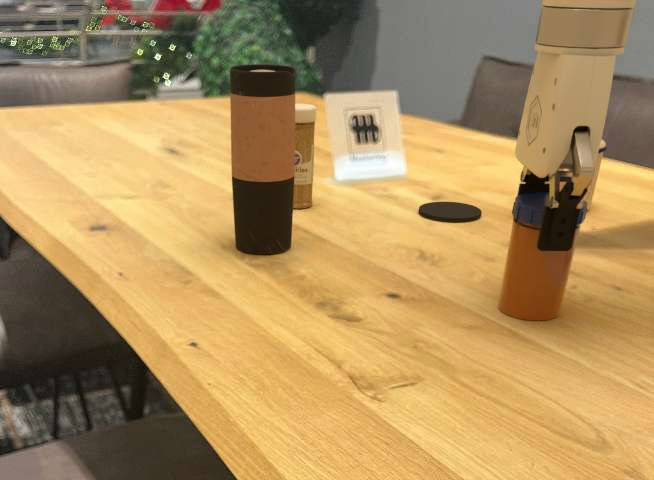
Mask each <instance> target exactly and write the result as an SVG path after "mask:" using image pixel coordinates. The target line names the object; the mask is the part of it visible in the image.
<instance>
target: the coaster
mask: <svg viewBox="0 0 654 480" xmlns="http://www.w3.org/2000/svg"><path fill="white" fill-rule="evenodd" d="M482 213H483V212H482V209H480V207H478V206H475V205H473V204H469V203H463V202H457V201H431V202H426V203H423V204H421V205H420V206H419V207H418V214H419V216H421V217H422V218H424V219H429V220H432V221H435V222H443V223H470V222H473V221H477V220H479V219H481V217H482Z"/></svg>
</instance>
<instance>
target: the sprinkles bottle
mask: <svg viewBox="0 0 654 480" xmlns="http://www.w3.org/2000/svg"><path fill="white" fill-rule="evenodd" d="M316 121H317V106H316V105H314V104H310V103H295V175H294V198H293V209H307V208H310V207H311V206H312V205H313V203H314V202H313V201H314V200H313V183H314V166H315V164H314V163H315V131H316V130H315V127H316Z"/></svg>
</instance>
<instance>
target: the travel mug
mask: <svg viewBox="0 0 654 480" xmlns="http://www.w3.org/2000/svg"><path fill="white" fill-rule="evenodd" d="M296 75H297V69H296V68H295V67H293V66H290V65H284V64H268V63H267V64H265V63H264V64H260V63H259V64H258V63H257V64H255V63H254V64H238V65H233V66H230V69H229V92H230V93H229V95H230V96H229V100H230V105H229V106H230V149H231V150H230V152H231V153H230V155H231V156H230V157H231V158H230V160H231V163H230V165H231V188H232V207H233V222H234V223H233V225H234V240H235V241H234V242H235V247H236V249H237V251H240V252H243V253H246V254H249V255H257V256H266V255H268V254H270V255H277V253H278V254H282V253H285V252H287V251H289V250H290V249H291V247H292V237H293V236H292V234H293V219H294V217H293V216H294V208H293V198H294V175H295V104H296V82H297V81H296V77H297V76H296ZM281 252H282V253H281ZM268 256H269V255H268Z"/></svg>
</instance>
